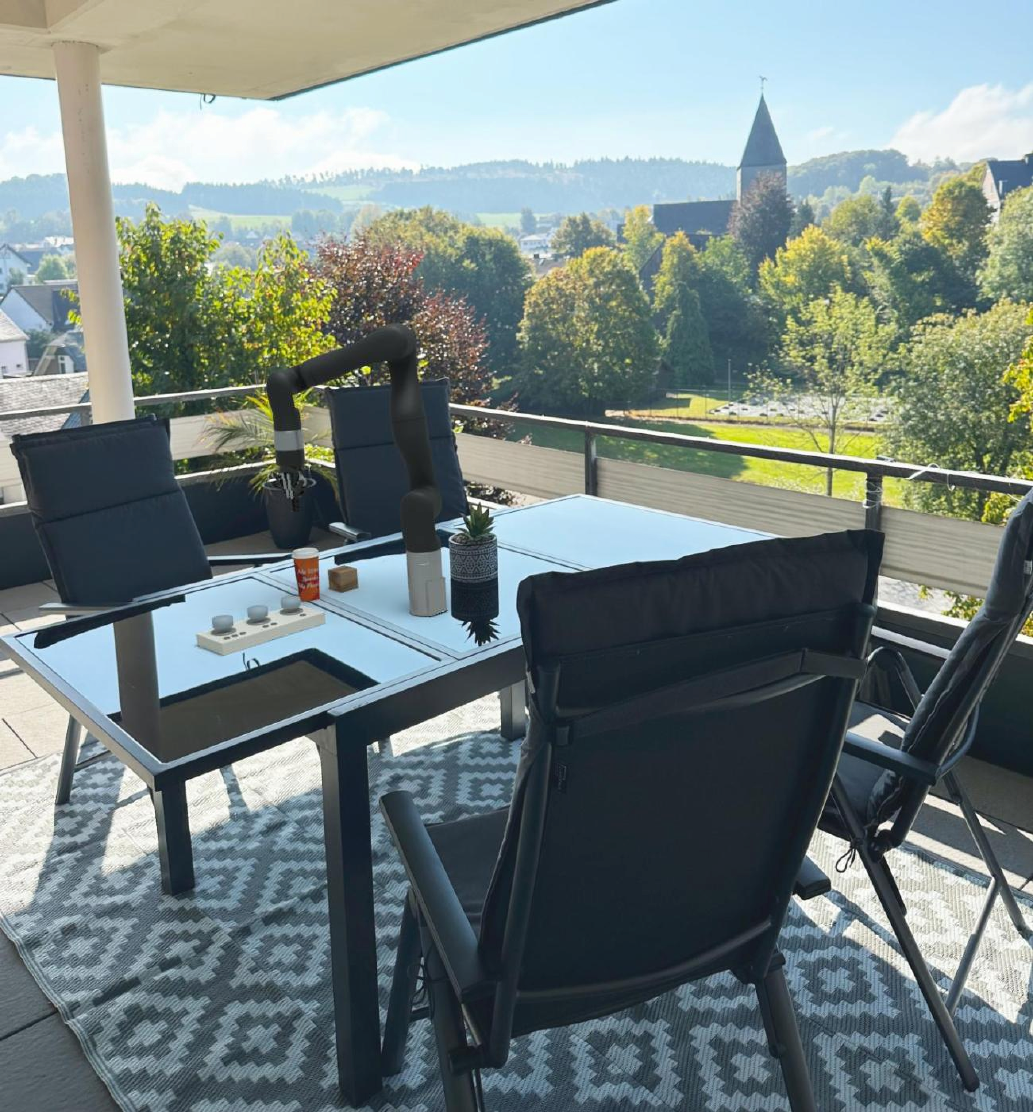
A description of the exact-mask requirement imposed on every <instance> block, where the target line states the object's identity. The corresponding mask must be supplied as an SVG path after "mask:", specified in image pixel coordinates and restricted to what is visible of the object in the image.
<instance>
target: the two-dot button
mask: <svg viewBox="0 0 1033 1112" xmlns="http://www.w3.org/2000/svg"><path fill="white" fill-rule="evenodd" d="M246 611H247V619H248V618H251V619H259V618H264V617H266V616H268V613H269V612H268V606H267V605H263V604H258V605H256V604H255V605H252V606H250V607H247V608H246Z"/></svg>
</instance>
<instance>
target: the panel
mask: <svg viewBox="0 0 1033 1112" xmlns="http://www.w3.org/2000/svg"><path fill="white" fill-rule="evenodd" d="M325 615H326V613H325V612H324V611H322V610H318V609H314V608H311V607H308V606H304V605H301V606H300V607H297V608H293V609H283V608H279V609H277V610H272V611H269V612H268V616H266V617H264V618H259V619H251V618H248V617H247V618H245V619H242V620H238V621H235V622H233V624H234V625H233V626H232V627H230V628H226V629H214V628H211V629H207V630H205V631H200V632H198V633H195V637H196V644H197V646H199V647H201V648H204V649H206V650H209V651H211V652H212V653H213V652H214V653H216V654H218V655H221V656H226V655H229V654H233V653H236V652H239V651H242V650H245V649H248V648H252V647H255V646H254V645H256V646H258V644H259V645H262V644H263V643H262V642H265V641H268V642H270V641H269V640H271V641H273V640H272V639H274V638H278V639H280V638H279V637H281V636H284V635H286V634H290V635H293V634H292V633H294V632H297V631H300V630H303V631H306V630H309V629H311V628H310V627H313V626H316V627H318V625H319V626H321V625H320V624H322V625H324V624H323V623H325V624H326V616H325ZM308 628H309V629H308ZM313 628H314V627H313ZM305 629H306V630H305ZM300 632H301V631H300ZM297 633H298V632H297ZM294 634H295V633H294ZM284 637H285V636H284ZM281 638H282V637H281ZM261 643H262V644H261ZM265 643H266V642H265ZM251 646H252V647H251Z"/></svg>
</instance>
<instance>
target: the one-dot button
mask: <svg viewBox="0 0 1033 1112" xmlns="http://www.w3.org/2000/svg"><path fill="white" fill-rule="evenodd" d="M279 601H280V609H282V608H283V609H293V608H297V607H300V606H301V604H302V603H301V600H300V597H299V595H289V596H288V595H287V596H284V597H282V598H280V600H279Z"/></svg>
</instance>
